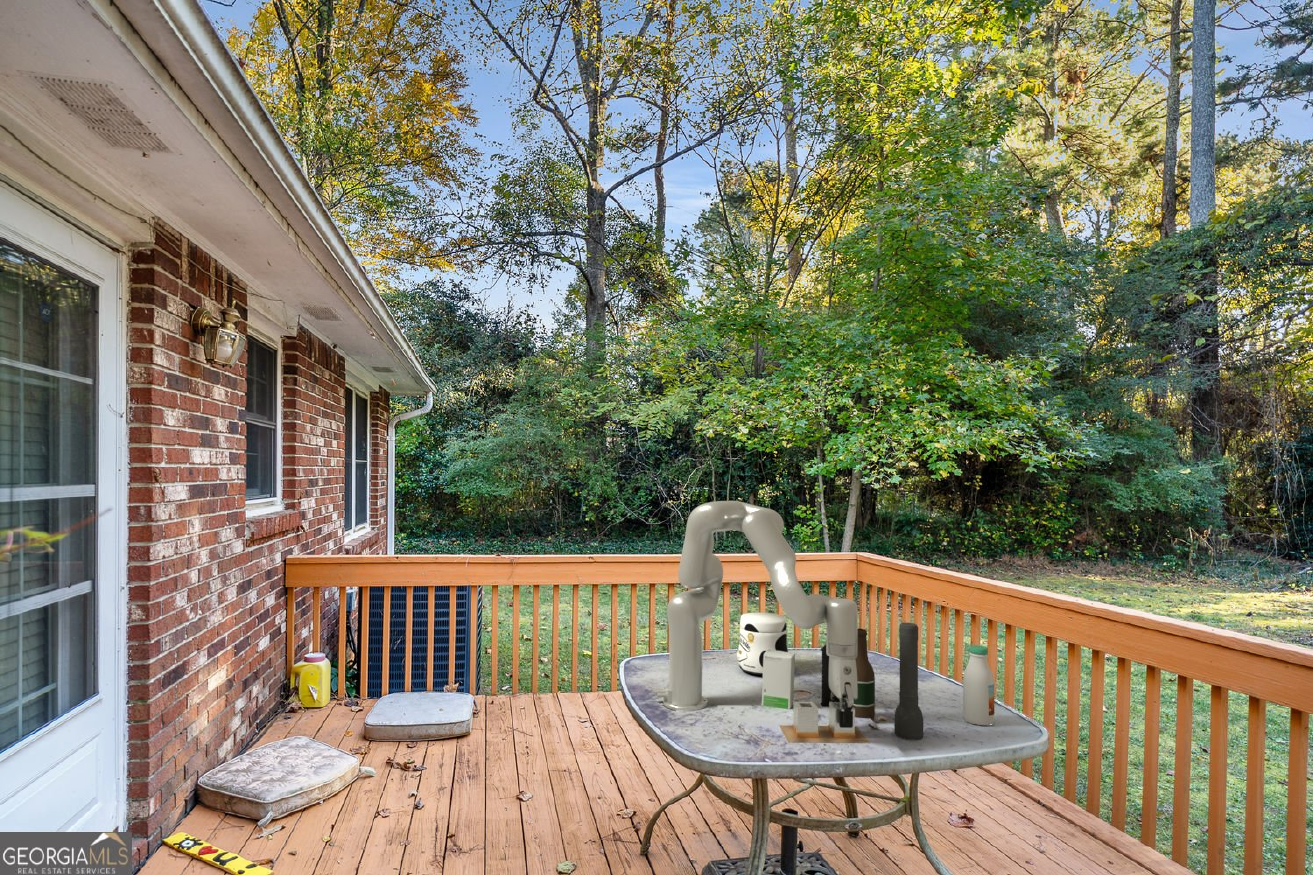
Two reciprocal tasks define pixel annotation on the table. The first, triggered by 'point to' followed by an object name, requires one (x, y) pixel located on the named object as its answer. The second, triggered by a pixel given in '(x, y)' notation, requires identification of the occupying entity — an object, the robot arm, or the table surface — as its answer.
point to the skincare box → (778, 679)
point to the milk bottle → (978, 688)
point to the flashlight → (908, 686)
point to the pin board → (822, 736)
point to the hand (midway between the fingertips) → (841, 720)
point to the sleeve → (834, 722)
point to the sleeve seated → (805, 720)
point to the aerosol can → (825, 679)
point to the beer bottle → (864, 680)
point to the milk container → (760, 639)
